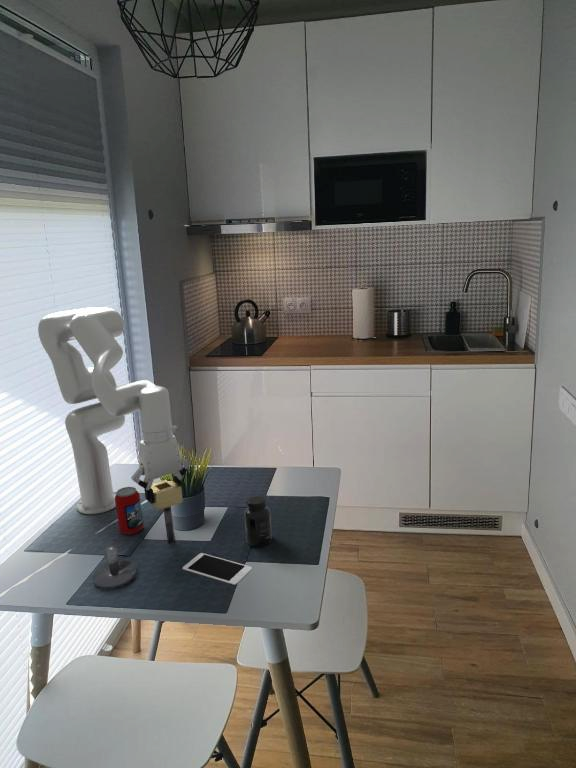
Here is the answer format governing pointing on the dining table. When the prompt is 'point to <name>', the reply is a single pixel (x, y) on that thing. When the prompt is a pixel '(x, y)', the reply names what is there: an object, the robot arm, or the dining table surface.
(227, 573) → the cell phone
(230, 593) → the dining table surface
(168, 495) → the collar
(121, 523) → the beverage can
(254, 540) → the supplement bottle
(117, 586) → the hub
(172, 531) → the stand rod
